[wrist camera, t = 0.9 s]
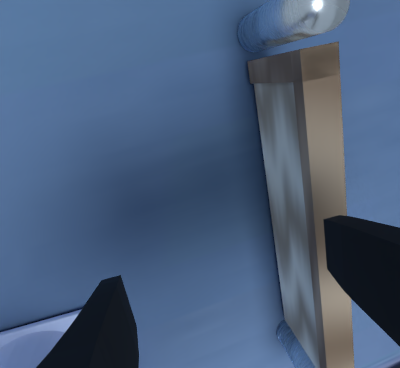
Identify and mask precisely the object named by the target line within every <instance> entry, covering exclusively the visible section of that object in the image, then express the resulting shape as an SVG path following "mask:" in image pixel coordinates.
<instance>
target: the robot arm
mask: <svg viewBox="0 0 400 368" xmlns="http://www.w3.org/2000/svg"><path fill="white" fill-rule="evenodd" d="M323 221H324V235H325V248H326V261H327V269H328V271H329V272H330V273H331V275H332V276H333V278H334V279H335V280H336V282H337V283H338V284H339V285H340V287H341V288H342V289H343V290H344V292H345V293H346V294H347V295H348V296H349V297H350V298H351V299H352V300H353V301H354V302H355V303H356V304H357V305H358V306H359V307H360V308H361V309H362V310H363V311H364V312H365V313H366V314H367V315H368V316H369V317H370V318H371V319H372V320H373V321H374V322H376V323H377V324H378V325H379V326H380V327H381V328H382V329H383V330H384V331H385V332H386V333H387V334H388V335H389V336H390V337H391V338H392V339H393V340H394V341H395V342H396V343H397V344H398V345H399V346H400V228H399V227H394V226H390V225H385V224H381V223H377V222H373V221H368V220H364V219H359V218H355V217H349V216H343V215H338V216H334V217H330V218H327V219H323ZM138 365H139V351H138V338H137V327H136V323H135V319H134V316H133V313H132V310H131V307H130V304H129V300H128V297H127V294H126V291H125V288H124V285H123V281H122V278H121V275H119V276H116V277H112V278H108V279H105V280H102V281H101V282H100V283H99V285H98V286H97V288H96V289H95V291H94V292H93V294H92V295H91V297H90V298H89V300H88V301H87V303H86V304H85V306H84V307H83V309H81V310H78V311H74V312H71V313H67V314H64V315H60V316H57V317H53V318H50V319H46V320H42V321H39V322H35V323H32V324H28V325H25V326H21V327H18V328H14V329H11V330H7V331H4V332H0V368H138Z"/></svg>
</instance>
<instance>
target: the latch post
mask: <svg viewBox="0 0 400 368" xmlns="http://www.w3.org/2000/svg"><path fill="white" fill-rule="evenodd" d="M349 4H350V0H270V1H268V2H266V3H265V4H263V5H262V6H260V7H259V8H257V9H255V10H254V11H252V12H251V13H249V14H248V15H246V16H245V17H244V18H243V19H242V20H241V21H240V23H239V25H238V29H237V37H238V40H239V43H240V44H241V46H242V47H243V48H244V49H245V50H247V51H250V52H258V51H262V50H265V49H269V48H272V47H276V46H279V45H283V44H286V43H290V42H293V41H297V40H300V39H304V38H307V37H311V36H314V35H318V34H321V33H325V32H328V31H331V30H333V29H335V28H336V27H337V26H338V25H339V24H340V23H341V22H342V21H343V20H344V18H345V16H346V14H347V12H348V9H349Z"/></svg>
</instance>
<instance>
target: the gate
mask: <svg viewBox="0 0 400 368" xmlns="http://www.w3.org/2000/svg"><path fill="white" fill-rule="evenodd" d="M247 62H248V69H249V77H250V84H254V89H255V96H256V104H257V111H258V119H259V127H260V134H261V142H262V149H263V157H264V165H265V172H266V180H267V188H268V195H269V203H270V210H271V218H272V226H273V233H274V241H275V248H276V256H277V264H278V271H279V279H280V286H281V294H282V302H283V309H284V317H285V321H286V322H287V324H288V325H289V327H290V328H291V330H292V332H293V333H294V335H295V336H296V338H297V339H298V341H299V342H300V344H301V345H302V347H303V348H304V350H305V352H306V353H307V355H308V356H309V358H310V359H311V361H312V362H313V364H314V365H315V367H316V368H354V351H353V331H352V310H351V298H350V297H349V296H348V295H347V294H346V293H345V292H344V290H343V289H342V288H341V287H340V285H339V284H338V283H337V282H336V280H335V279H334V278H333V276H332V275H331V273H330V272H329V271H328V269H327V261H326V248H325V235H324V221H323V219H327V218H330V217H334V216H338V215H343V216H347V207H346V186H345V166H344V145H343V124H342V104H341V83H340V63H339V42H334V43H329V44H324V45H319V46H314V47H309V48H304V49H299V50H295V51H291V52H286V53H282V54H277V55H273V56H269V57H264V58H260V59H255V60H251V61H247Z"/></svg>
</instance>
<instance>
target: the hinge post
mask: <svg viewBox="0 0 400 368" xmlns="http://www.w3.org/2000/svg"><path fill="white" fill-rule="evenodd" d="M277 337H278V339H279V340H280V342H281V344H282V346H283V347H284V349H285V351H286V353H287V354H288V356H289V358H290V360H291V361H292V363H293V365H294V367H295V368H316V367H315V365H314V364H313V362H312V361H311V359H310V358H309V356H308V355H307V353H306V352H305V350H304V348H303V347H302V345H301V344H300V342H299V341H298V339H297V338H296V336H295V335H294V333H293V332H292V330H291V328H290V327H289V325H288V324H287V322H286V321H285V320H284V321H282V322H281V323H280V325H279V326H278V329H277Z"/></svg>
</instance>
